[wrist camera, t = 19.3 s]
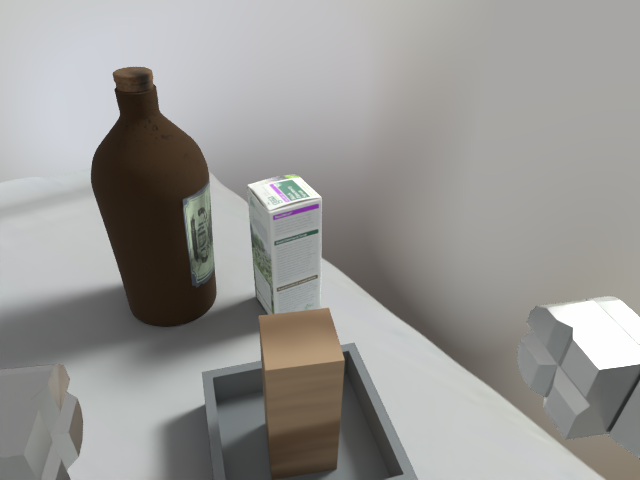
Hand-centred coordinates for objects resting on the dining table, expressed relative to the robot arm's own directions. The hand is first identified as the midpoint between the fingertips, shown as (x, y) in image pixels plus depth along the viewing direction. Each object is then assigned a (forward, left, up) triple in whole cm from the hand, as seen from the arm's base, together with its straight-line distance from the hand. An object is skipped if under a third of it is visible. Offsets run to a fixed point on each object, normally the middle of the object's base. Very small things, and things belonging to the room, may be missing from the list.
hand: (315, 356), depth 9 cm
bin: (-17, +4, -30) cm, 35 cm away
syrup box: (-35, +7, -30) cm, 47 cm away
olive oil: (-39, -5, -30) cm, 50 cm away
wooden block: (-17, +4, -29) cm, 34 cm away
